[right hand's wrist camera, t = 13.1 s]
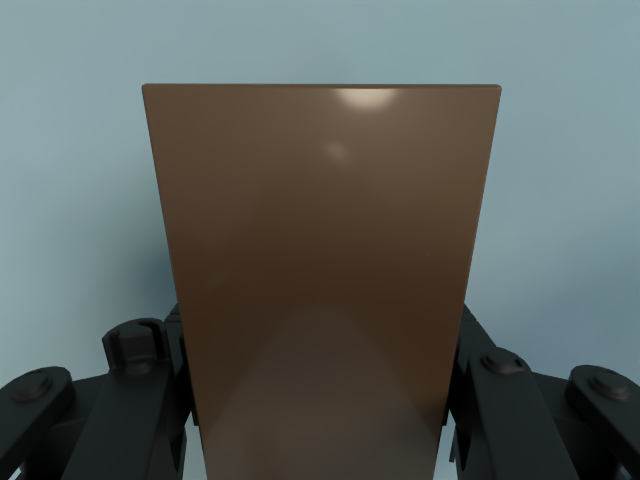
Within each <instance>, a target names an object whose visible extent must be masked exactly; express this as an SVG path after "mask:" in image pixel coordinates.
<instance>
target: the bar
mask: <svg viewBox="0 0 640 480" xmlns="http://www.w3.org/2000/svg"><path fill="white" fill-rule="evenodd" d="M142 94H143V100H144V106H145V112H146V118H147V124H148V130H149V136H150V142H151V147H152V153H153V159H154V165H155V171H156V177H157V183H158V189H159V195H160V201H161V207H162V213H163V218H164V224H165V230H166V236H167V242H168V248H169V254H170V260H171V266H172V272H173V278H174V284H175V290H176V295H177V301H178V307H179V313H180V319H181V325H182V331H183V337H184V343H185V349H186V355H187V361H188V367H189V372H190V378H191V384H192V390H193V396H194V402H195V408H196V414H197V420H198V426H199V432H200V438H201V444H202V449H203V455H204V461H205V467H206V473H207V479H208V480H433V476H434V470H435V465H436V459H437V453H438V448H439V442H440V436H441V431H442V425H443V419H444V414H445V408H446V402H447V396H448V391H449V385H450V379H451V374H452V368H453V362H454V357H455V351H456V345H457V340H458V334H459V328H460V323H461V317H462V311H463V306H464V300H465V294H466V289H467V283H468V277H469V272H470V266H471V260H472V255H473V249H474V243H475V238H476V232H477V226H478V220H479V215H480V209H481V203H482V198H483V192H484V186H485V181H486V175H487V169H488V164H489V158H490V152H491V147H492V141H493V135H494V130H495V124H496V118H497V113H498V107H499V101H500V96H501V86H499V85H497V84H144V85H142Z"/></svg>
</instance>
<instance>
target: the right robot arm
mask: <svg viewBox="0 0 640 480" xmlns="http://www.w3.org/2000/svg"><path fill="white" fill-rule="evenodd" d="M102 342H103V346H104V350H105V353H106V357H107V361H108V364H109V368H110V370H109V372H108V373H107V374H103V375H100V376H95V377H91V378H86V379H81V380H77V381H72V378H71V375H70V372H69V371H68V370H67V369H65V368H64V367H57V366H53V367H45V368H40V369H36V370H33V371H30V372H27V373H25V374H24V375H22V376H20V377H18V378H16V379H14V380H12V381H11V382H9V383H8V384H7V385H5V386H4V387H3V388H1V389H0V480H8V479H9V478H10V477H11V476H12V474H13V473H14V472H15V471H16V470H17V468H18V467H19V468H20V471H21V473H20V474H19V475H18V477H17V478H16V479H15V480H182V478H183V469H184V460H185V451H186V443H187V438H186V431H185V423H186V421H187V419H188V416H189V414H190V412H191V411H192V417H193V423H194V426H198V420H197V414H196V408H195V402H194V396H193V390H192V384H191V378H190V372H189V367H188V361H187V355H186V349H185V343H184V337H183V331H182V325H181V319H180V313H179V307H178V303H177V304H176V305H175V307H174V308H173V309H172V311H171V312H170V315H168V316H167V318H166V319H165V320H164V322H162V321H161V320H159V319H155V318H140V319H135V320H131V321H127V322H125V323H122V324H120V325H118V326H116V327H114V328H113V329H111V330H110V331H108V332H107V333H106V334H105V336H104V337H103V338H102ZM449 409H450V412H451V414H452V416H453V418H454V421H455V423H456V426H455V431H454V436H453V441H452V447H451V452H450V459H449V462H453V463H454V459H456V468H457V477H458V480H627V479H626V478H625V477H624V475H623V474H622V473H621V472H620V469H621V467H622V465H623V467H624V468H625V469H626V470H627V471H628V473H629V474H630V475H631V476H632V477H633V478H634V480H640V387H639V386H638V385H637V384H635V383H634V382H632V381H631V380H630V379H628V378H627V377H624V376H622V375H620V374H618V373H616V372H615V371H612V370H610V369H605V368H603V367H599V366H592V365H581V366H576V367H575V368H574V369H573V370H571V373H570V376H569V379H568V380H566V379H561V378H557V377H552V376H547V375H543V374H539V373H535V372H532V371H531V369H530V367H529V366H528V365H527V363H526V362H525V361H524V360H523V359H522V358H520V357H519V356H518V355H516V354H514V353H512V352H510V351H508V350H506V349H503V348H499V347H497V346H496V345H495V344H494V342H493V341H492V340H491V338H490V337H489V336H488V334H487V333H486V332H485V330H484V329H483V328H482V326H481V325H480V324H479V322H477V321H476V318H475V317H474V316H473V314H472V313H470V310H469V309H468V308H467V306H466V305H465V304H464V306H463V311H462V317H461V323H460V328H459V334H458V340H457V345H456V351H455V357H454V362H453V368H452V374H451V379H450V385H449V391H448V396H447V402H446V408H445V414H444V419H443V425H442V426H446V424H447V419H448V413H449Z"/></svg>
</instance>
